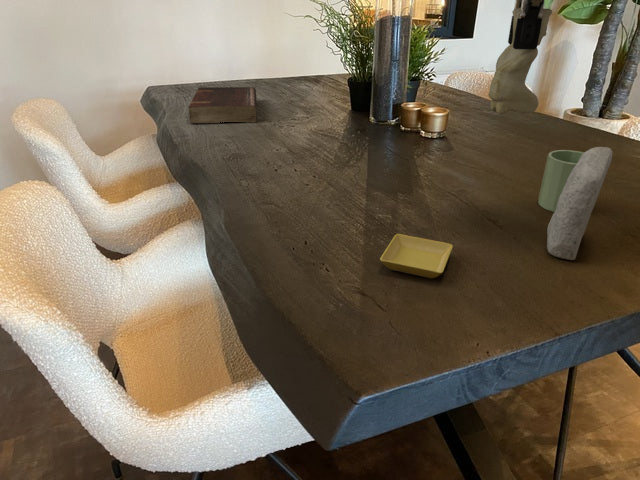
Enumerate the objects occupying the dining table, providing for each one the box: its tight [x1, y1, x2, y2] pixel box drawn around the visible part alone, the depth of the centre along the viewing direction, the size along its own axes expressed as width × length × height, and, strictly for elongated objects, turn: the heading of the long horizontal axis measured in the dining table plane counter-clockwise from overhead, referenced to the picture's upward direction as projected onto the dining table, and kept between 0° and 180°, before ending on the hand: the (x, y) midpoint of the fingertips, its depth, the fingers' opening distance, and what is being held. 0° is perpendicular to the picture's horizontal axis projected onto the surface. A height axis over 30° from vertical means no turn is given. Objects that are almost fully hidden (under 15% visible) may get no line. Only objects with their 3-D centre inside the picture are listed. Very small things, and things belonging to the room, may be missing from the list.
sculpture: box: [487, 7, 553, 115], centre depth 73 cm, size 6×7×15 cm
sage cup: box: [537, 149, 585, 213], centre depth 86 cm, size 8×8×9 cm
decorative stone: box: [546, 146, 614, 261], centre depth 71 cm, size 11×6×15 cm, turn 150°
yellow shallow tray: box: [379, 233, 454, 279], centre depth 69 cm, size 9×9×2 cm
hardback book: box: [188, 86, 258, 124], centre depth 151 cm, size 29×19×5 cm, turn 7°
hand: (521, 45), depth 72 cm, fingers closed on sculpture, 5 cm apart
